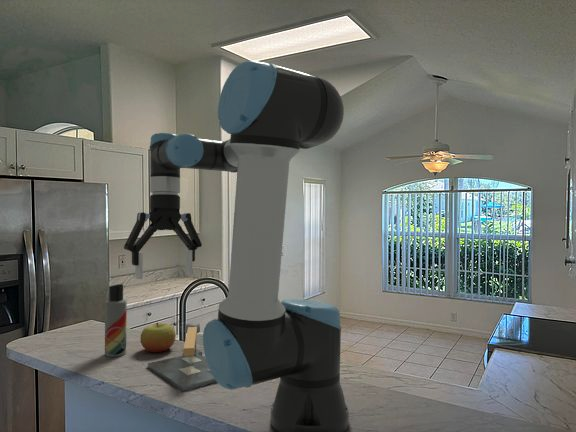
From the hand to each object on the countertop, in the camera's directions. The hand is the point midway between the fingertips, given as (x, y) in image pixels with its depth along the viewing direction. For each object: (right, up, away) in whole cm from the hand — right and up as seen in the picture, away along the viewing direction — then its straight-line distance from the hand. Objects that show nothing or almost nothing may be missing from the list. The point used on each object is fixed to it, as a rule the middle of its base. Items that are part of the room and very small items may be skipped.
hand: (164, 276), depth 108 cm
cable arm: (+6, -18, +2) cm, 19 cm away
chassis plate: (+7, -24, -2) cm, 25 cm away
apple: (-6, -24, +16) cm, 29 cm away
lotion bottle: (-17, -24, +11) cm, 32 cm away
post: (+5, -24, +12) cm, 27 cm away
